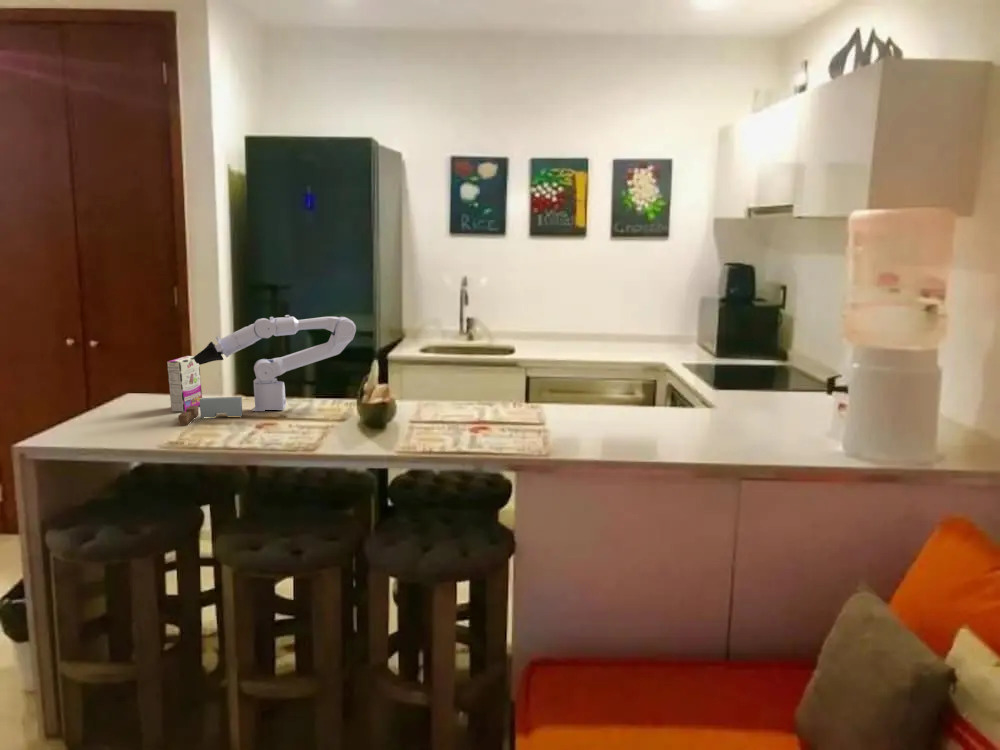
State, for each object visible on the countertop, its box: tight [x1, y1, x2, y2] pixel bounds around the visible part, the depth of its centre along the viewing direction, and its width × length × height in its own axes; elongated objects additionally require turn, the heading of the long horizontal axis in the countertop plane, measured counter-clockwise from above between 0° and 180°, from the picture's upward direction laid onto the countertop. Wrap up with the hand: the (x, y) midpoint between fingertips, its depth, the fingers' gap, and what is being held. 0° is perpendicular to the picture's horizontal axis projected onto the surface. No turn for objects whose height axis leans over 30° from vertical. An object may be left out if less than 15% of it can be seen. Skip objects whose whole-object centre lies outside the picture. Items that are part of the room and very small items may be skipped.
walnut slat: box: [178, 406, 200, 427], centre depth 260 cm, size 2×14×3 cm, turn 6°
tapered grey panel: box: [199, 396, 243, 419], centre depth 264 cm, size 12×2×6 cm, turn 96°
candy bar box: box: [166, 355, 203, 413], centre depth 276 cm, size 11×5×16 cm, turn 168°
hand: (196, 361), depth 266 cm, fingers open, 7 cm apart
